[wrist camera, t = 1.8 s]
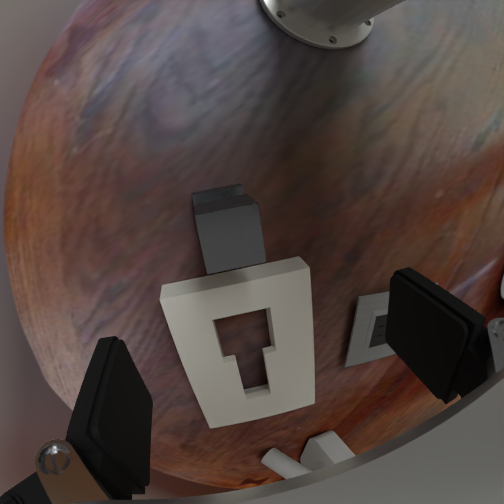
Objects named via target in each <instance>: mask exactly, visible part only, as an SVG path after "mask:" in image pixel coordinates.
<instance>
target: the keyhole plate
mask: <svg viewBox="0 0 504 504" xmlns="http://www.w3.org/2000/svg"><path fill="white" fill-rule="evenodd" d="M160 302H161V305H162V308H163V311H164V314H165V317H166V320H167V323H168V326H169V329H170V332H171V334H172V337H173V340H174V343H175V345H176V348H177V351H178V353H179V356H180V359H181V361H182V364H183V366H184V369H185V371H186V374H187V376H188V379H189V381H190V384H191V386H192V388H193V391H194V393H195V396H196V398H197V400H198V402H199V405H200V407H201V409H202V412H203V414H204V416H205V418H206V420H207V423H208V425H209V427H210V428H216V427H222V426H227V425H232V424H237V423H242V422H247V421H252V420H256V419H260V418H264V417H269V416H273V415H276V414H280V413H284V412H288V411H291V410H295V409H298V408H302V407H305V406H308V405H312V404H315V368H314V336H313V313H312V295H311V279H310V267H309V266H308V265H307V264H306V263H305V262H304V261H303V260H302V259H301V258H300V257H299V256H298V257H293V258H289V259H284V260H279V261H275V262H270V263H265V264H261V265H256V266H251V267H247V268H242V269H237V270H233V271H228V272H223V273H218V274H214V275H209V276H204V277H199V278H194V279H189V280H185V281H180V282H175V283H170V284H165V285H162V290H161V295H160ZM265 308H266V315H267V321H268V328H269V335H270V342H271V346H270V347H266V348H262V350H263V356H264V362H265V368H266V374H267V379H268V384H266V385H261V386H257V387H253V388H249V389H243V385H242V381H241V377H240V373H239V369H238V365H237V361H236V357H235V355H230V356H226V357H224V355H223V351H222V348H221V344H220V340H219V337H218V333H217V329H216V325H215V321H214V320H215V319H219V318H224V317H229V316H233V315H238V314H243V313H247V312H251V311H256V310H260V309H265Z"/></svg>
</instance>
